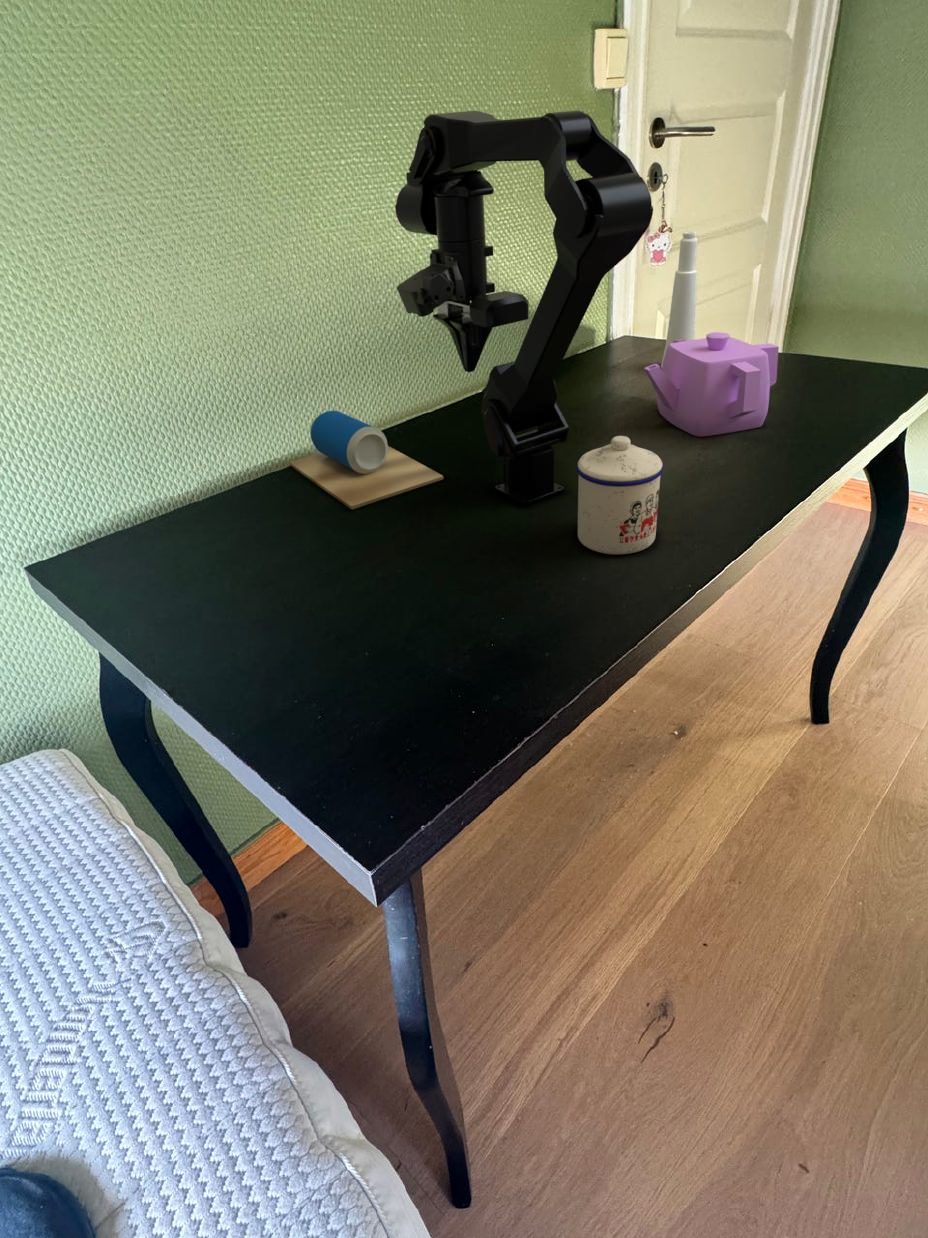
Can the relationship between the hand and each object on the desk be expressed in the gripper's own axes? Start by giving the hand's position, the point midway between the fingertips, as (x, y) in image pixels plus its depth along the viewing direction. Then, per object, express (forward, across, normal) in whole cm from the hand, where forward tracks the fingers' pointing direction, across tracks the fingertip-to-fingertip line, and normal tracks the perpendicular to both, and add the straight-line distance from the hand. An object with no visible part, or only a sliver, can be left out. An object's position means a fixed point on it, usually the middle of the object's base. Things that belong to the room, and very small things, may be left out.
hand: (469, 371), depth 99 cm
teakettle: (+13, +9, +36) cm, 39 cm away
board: (+13, -9, -13) cm, 20 cm away
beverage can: (+9, -6, -13) cm, 17 cm away
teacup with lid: (+13, +28, +1) cm, 31 cm away
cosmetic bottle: (+13, -12, +53) cm, 56 cm away
